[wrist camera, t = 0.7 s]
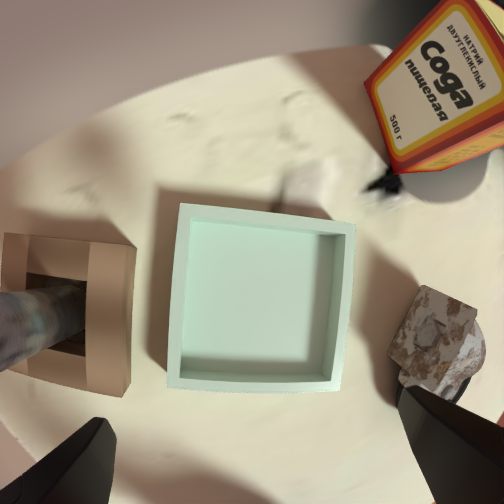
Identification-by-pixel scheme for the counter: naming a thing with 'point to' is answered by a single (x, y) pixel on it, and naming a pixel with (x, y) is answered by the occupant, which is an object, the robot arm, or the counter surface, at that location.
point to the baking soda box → (443, 88)
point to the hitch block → (97, 308)
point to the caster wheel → (438, 345)
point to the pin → (38, 320)
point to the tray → (259, 301)
